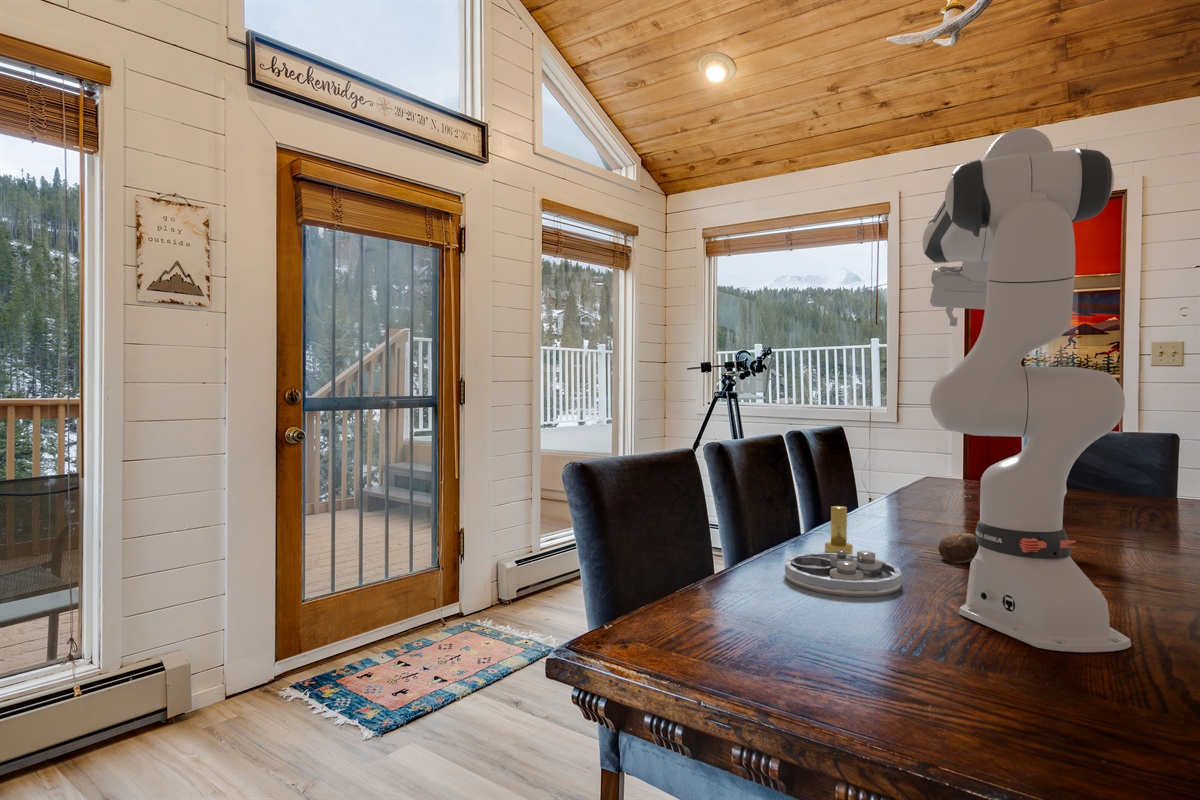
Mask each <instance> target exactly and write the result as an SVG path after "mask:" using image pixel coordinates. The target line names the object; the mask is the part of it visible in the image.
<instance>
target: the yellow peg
mask: <svg viewBox="0 0 1200 800" xmlns="http://www.w3.org/2000/svg"><path fill="white" fill-rule="evenodd" d="M847 523H848V507H846V506H840V505H835V506H834V505H833V506H830V541H827V542H824V553H837V550H844V551H846V554H853V544H851V543H848V540H847V537H848V536H847V534H848V533H847V529H848V528H847V527H848V525H847Z"/></svg>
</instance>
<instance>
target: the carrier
mask: <svg viewBox="0 0 1200 800" xmlns="http://www.w3.org/2000/svg"><path fill="white" fill-rule="evenodd" d="M784 573H785V577H784V578H785V579H786V580H787V581H788V583H790V584H792V585H794V586H795V587H798V588H801V589H802V590H803V589H804V590H806V591H810V592H815V593H818V594H819V593H820V594H823V595H830V596H838V597H847V598H877V597H883V596H890V595H892V594H896V593H897V592H899V591H900V589H901V583H902V575H903V574H902V572H901V569H900V567H898V566H896V565H894V564H892V563H891V562H887V561H884V560H881V559H877V558H876V553H875V552H873V551H872V552H871V551H870V550H869V551H866V550H860V551H859V550H858V551H857V552H856V554H853V553H852V554H846V551H844V550H837V553H825V552H809V553H808V552H807V553H800V554H795V555H792V556H790V557H788V558H786V559H785V563H784Z"/></svg>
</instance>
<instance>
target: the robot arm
mask: <svg viewBox="0 0 1200 800" xmlns="http://www.w3.org/2000/svg"><path fill="white" fill-rule="evenodd" d="M1114 175H1115V174H1114V170H1113V168H1112V163H1111V159H1110V158H1109V157H1108V156H1107V155H1105V154H1104V153H1103V152H1102V151H1099V150H1097V149H1096V150H1095V149H1086V148H1071V149H1069V150H1054V148H1053V144H1052V141H1051V140H1050V138H1049V137H1048V136H1047V135H1046V134H1045V133H1043V132H1041V131H1040V130H1037V129H1035V128H1031V127H1020V128H1015V129H1011V130H1008V131H1007V132H1005V133H1003V134H1001V135H1000V136H999V137H998V138H996V139H995V141H993V142H992V144H991V146H990V147H989V148H988V150H987V151H986V152H985V154H984V156H983V158H982V160H981V159H974V160H972V161H968V162H966V163H962V164H960V165H958V166H957V167H955V169H954V171H953V172H952V173H951V177H950V179H949V181H948V182H947V186H946V188H945V194H944V200H943V202H942V204H941V205H940V207H939V209H938V210H937V212H936V214H935V215H934V217H932V218H931V219H930V220H929V221H928V223H927V225H926V227H925V229H924V232H923V236H922V250H923V254H924V255H925V256H926V257H927V258H928V259H929V260H930V261H931V262H932V263H934V264H937V263H939V264H940V263H949V262H962V263H961V266H946V265H944V266H943V265H942V266H939V267H938V268H935V269H934V270H933V271H932V273H931V281H930V282H931V284H932V285H933V286H932V291H931V293H930V294H931V295H930V300H929V304H930V305H931V306H932V307H936V308H945V313H946V315H947V317H948V318H949V327H957V325H958V319H959V318H958V316H957V317H955V316H954V314H953V311H954V309H967V310H968V309H970V310H973V309H974V310H984V314H983V320H982V326H981V328H980V329H981V330H980V333H979V336H977V337H978V338H977V340H976V341H975V343H974V345H973V347H972V348H971V349H970V351H968V353H967V354H966V356H965V357H964V358H962V359H961V361H959V362H958V363H957V364H955V366H953V367H952V368H950V369H949V370H947V371H946V372H944V373H942V374H941V376H940V377H939V378H938V379H937V380H936V381H935V383H934V385H933V387H932V388H931V389H932V390H931V393H930V398H929V402H930V404H929V405H930V410H931V413H932V415H933V417H934V419H935V420H936V422H937V423H938V425H940V427H941V428H943V429H944V430H947V431H951V432H955V433H960V434H966V435H970V436H980V437H981V436H983V437H987V436H988V437H1015V438H1016V437H1019V438H1024V439H1026V442H1025V445H1024V447H1023V449H1022V450H1021V451H1020V452H1019V453H1017V454H1016V455H1015V454H1014V455H1013V456H1010V457H1007V458H1005V459H1003V460H1000V461H998V462H995V463H994V464H992V465H990V466H988V467H987V468H986V469H985V471H984V472H983V473H982V475H981V477H980V489H979V490H980V494H979V495H980V496H979V499H980V500H979V505H980V506H979V520H978V521H976V528H975V536H976V542H977V544H978V545H979V548H978V551H977V553H976V555H975V557H974V559H972V560H971V561H970V563H969V564H970V566H969V573H968V581H967V590H966V598H965V599H966V600H965V604H962V605H961V606H960V607H959V612H958V613H959V615H961V616H962V617H965V618H967V619H969V620H972V621H974V622H976V623H979V624H980V625H981V624H982V625H983V626H985V627H988V628H990V629H993V630H996V631H997V632H999V633H1002V634H1004V635H1007V636H1009V637H1011V638H1013V639H1016V640H1019V641H1021V642H1024V643H1026V644H1029V645H1030V646H1032V647H1035V648H1039V649H1042V650H1043V649H1044V650H1050V651H1057V652H1058V651H1059V652H1068V653H1071V652H1072V653H1073V652H1074V653H1104V652H1107V653H1108V652H1115V651H1122V650H1126V649H1129V648H1130V647H1132V641H1131V639H1130V638H1129V637H1128V636H1126V635H1124V634H1123V633H1121V632H1120V631H1118V630H1116V629H1114V628H1113V627H1110V626H1111V625H1110V612H1109V607H1108V602H1107V599H1106V597H1105V595H1103V593H1102V590H1101V589H1100V588H1098V587H1096V586H1095V584H1094V583H1093V582H1092V581H1091V580H1090V578H1088V576H1087V575H1086V574H1085V573H1084V572H1083V571H1082V569H1081V568H1080V567H1079V566H1078V565H1077V563H1076V562H1075V561H1074V560H1073V559H1072V557H1071V555H1072V550H1071V549H1075V548H1077V546H1074V545H1070V544H1074V543H1077V540H1073V539H1072V540H1071V539H1070V540H1069V538H1068V535H1067V531H1066V530H1065V528H1064V527H1063V520H1064V519H1063V518H1064V516H1063V515H1064V501H1065V496H1064V494H1065V486H1066V487H1067V480H1068V477H1069V474H1070V471H1071V469H1072V467H1073V465H1074V464H1075V462H1076V461H1077V459H1078V458H1079V457H1080V455H1081V454H1082V453H1083V452H1084V451H1085V450H1086V449H1087V448H1088V447H1089V446H1091V445H1092V444H1093V443H1094V442H1096V441H1097V440H1099V439H1100V438H1102V437H1104V436H1106V435H1107V434H1108V433H1110V432H1111V431H1112V430H1114V428H1115V427H1117V426H1118V424H1119V423H1120V421H1121V420H1122V417H1123V415H1124V413H1125V409H1126V398H1125V394H1124V391H1123V387H1121V385H1120V382H1118V380H1117V379H1116V378H1115V377H1114V376H1113V375H1111V373H1109V372H1107V371H1102V370H1096V369H1092V368H1091V369H1090V368H1085V367H1078V366H1022V365H1021V362H1023V359H1024V358H1025V357H1027V355H1028V354H1029V353H1031V352H1032V351H1034V350H1035V349H1038V348H1040V347H1042V346H1043V347H1044V346H1046V345H1048V344H1050V343H1052V342H1054V341H1056V340H1057V339H1059V338H1060V337H1062V336H1063V335H1064V334H1065V333H1066V332H1067V330H1068V329H1069V327H1070V325H1071V324H1072V317H1073V316H1072V315H1073V303H1074V291H1075V289H1074V288H1075V277H1076V242H1075V232H1074V225H1073V223H1077V222H1083V221H1086V220H1089V219H1093V218H1095V217H1097V216H1098V215H1100V214H1101V212H1103V211H1104V209H1106V207H1107V205H1108V203H1109V200H1110V197H1111V195H1112V193H1113V189H1114V185H1115V176H1114ZM1020 365H1021V366H1020Z"/></svg>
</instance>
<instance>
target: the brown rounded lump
mask: <svg viewBox="0 0 1200 800" xmlns="http://www.w3.org/2000/svg"><path fill="white" fill-rule="evenodd" d="M978 548H979V545H978V544H977V542H976V535H975V534H973V533H968V532H956V533H949V534H948V535H945V536H944V537H943V538H942V539H941V540H940V541H939V543H938V548H937V549H938V553H939V555H940V557H941V558H942V559H944V560H945V561H947V562H950V563H954V564H963V563H968V562H971V561H972V560H973V559H974V557H975V555H976V553H977V551H978Z"/></svg>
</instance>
